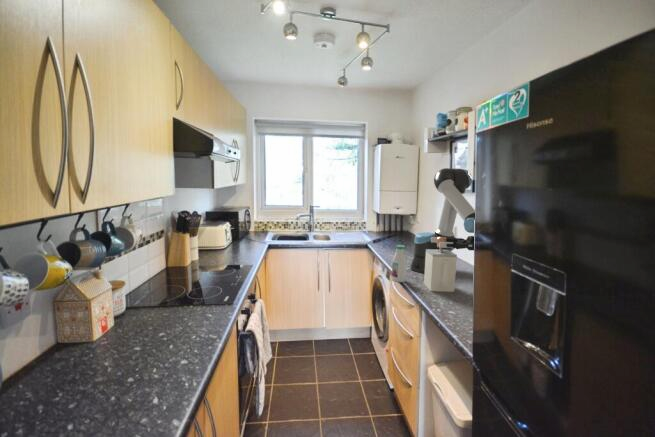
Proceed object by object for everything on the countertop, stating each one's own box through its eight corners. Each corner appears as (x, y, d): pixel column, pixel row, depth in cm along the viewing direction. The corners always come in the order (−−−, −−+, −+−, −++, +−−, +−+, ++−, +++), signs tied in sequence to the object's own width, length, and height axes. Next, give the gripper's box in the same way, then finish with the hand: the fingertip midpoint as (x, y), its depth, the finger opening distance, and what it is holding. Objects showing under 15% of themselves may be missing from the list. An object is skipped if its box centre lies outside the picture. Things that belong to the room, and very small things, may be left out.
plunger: (430, 283, 173) (433, 236, 170) (442, 283, 173) (446, 236, 170) (434, 287, 166) (437, 238, 163) (447, 288, 166) (450, 238, 163)
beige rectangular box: (423, 283, 176) (426, 249, 173) (445, 284, 175) (448, 249, 173) (432, 293, 160) (435, 255, 158) (456, 294, 160) (459, 256, 158)
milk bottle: (404, 279, 183) (406, 244, 181) (406, 283, 176) (408, 247, 173) (391, 278, 184) (392, 244, 182) (392, 282, 176) (394, 246, 174)
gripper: (487, 255, 155) (442, 254, 155) (465, 245, 179) (427, 244, 180) (488, 240, 154) (443, 239, 154) (466, 232, 178) (428, 231, 179)
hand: (435, 242), depth 167 cm, fingers open, 13 cm apart
